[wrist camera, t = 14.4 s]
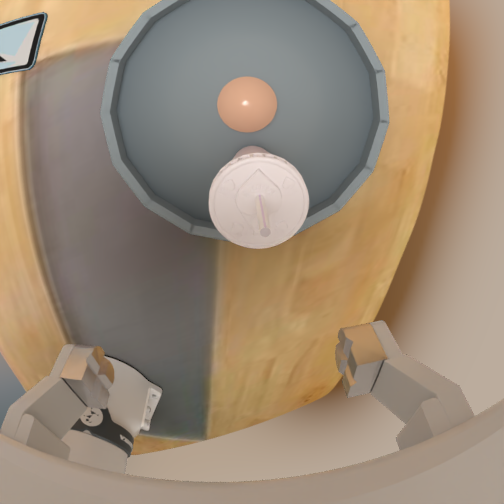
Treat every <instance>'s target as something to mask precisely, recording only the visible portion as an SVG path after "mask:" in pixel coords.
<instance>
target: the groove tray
mask: <svg viewBox="0 0 504 504" xmlns="http://www.w3.org/2000/svg"><path fill="white" fill-rule="evenodd" d="M100 115H101V119H102V124H103V128H104V132H105V137H106V141H107V145H108V149H109V152H110V156H111V160H112V164H113V166H114V167H115V168H116V170H117V171H118V173H119V174H120V175H121V177H122V178H123V179H124V181H125V182H126V183H127V185H128V186H129V187H130V188H131V190H132V191H133V192H134V194H135V195H136V196H137V198H138V199H139V200H140V202H141V203H142V204H143V205H144V207H146V208H147V209H149V210H151V211H152V212H154V213H156V214H157V215H159V216H161V217H162V218H164V219H166V220H167V221H169V222H171V223H172V224H174V225H176V226H177V227H179V228H181V229H182V230H184V231H186V232H187V233H189V234H193V235H198V236H203V237H209V238H214V239H219V240H224V241H229V240H228V239H226V238H225V237H224V236H223V235H222V234H221V233H220V232H219V231H218V230H217V228H216V227H215V225H214V223H213V222H212V219H211V216H210V213H209V191H210V188H211V185H212V182H213V179H214V178H215V177H216V175H217V174H218V172H219V171H220V169H221V168H223V167H224V166H225V165H226V164H227V163H229V162H230V161H231V160H232V159H233V158H234V156H235V155H236V153H237V152H238V151H239V150H241V149H242V148H244V147H247V146H258V147H261V148H263V149H265V150H266V151H267V152H269V153H270V154H273V155H276V156H278V157H281V158H283V159H285V160H286V161H288V162H289V163H290V164H292V165H293V166H294V167H295V168H296V169H297V170H298V172H299V173H300V174H301V176H302V178H303V180H304V182H305V185H306V187H307V190H308V195H309V209H308V213H307V216H306V219H305V221H304V223H303V224H302V226H301V227H300V229H299V230H298V231H297V232H296V233H295V234H294V235H296V234H298V233H300V232H302V231H303V230H305V229H307V228H309V227H311V226H313V225H314V224H316V223H318V222H320V221H322V220H323V219H325V218H327V217H329V216H331V215H333V214H334V213H336V212H338V211H340V210H341V209H342V207H343V206H344V205H345V204H346V203H347V202H348V200H349V199H350V198H351V197H352V196H353V195H354V193H355V192H356V191H357V190H358V189H359V188H360V186H361V185H362V184H363V183H364V182H365V181H366V179H367V178H368V177H369V176H370V175H371V173H372V172H373V171H374V168H375V165H376V162H377V159H378V156H379V153H380V150H381V147H382V144H383V141H384V138H385V135H386V132H387V128H388V125H389V110H388V97H387V87H386V78H385V70H384V68H383V66H382V64H381V62H380V60H379V58H378V57H377V55H376V53H375V51H374V49H373V47H372V46H371V44H370V42H369V40H368V38H367V37H366V35H365V33H364V32H363V30H362V28H361V27H360V25H359V23H358V22H357V21H355V20H354V19H353V18H352V17H351V16H349V15H348V14H347V13H346V12H344V11H343V10H342V9H341V8H339V7H338V6H337V5H336V4H334V3H333V2H332V1H330V0H162V1H160V2H158V3H157V4H155V5H154V6H152V7H151V8H149V9H148V10H146V11H145V12H143V14H142V15H141V16H140V17H139V19H138V20H137V21H136V23H135V24H134V25H133V27H132V28H131V30H130V31H129V32H128V34H127V35H126V37H125V38H124V39H123V41H122V42H121V44H120V45H119V47H118V48H117V50H116V51H115V53H114V54H113V56H112V58H111V59H110V63H109V68H108V72H107V77H106V82H105V87H104V93H103V98H102V105H101V111H100ZM294 235H293V236H294ZM230 242H231V241H230Z"/></svg>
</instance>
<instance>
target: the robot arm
mask: <svg viewBox="0 0 504 504" xmlns="http://www.w3.org/2000/svg"><path fill="white" fill-rule="evenodd" d="M338 338H339V341H340V342H339V343H338V344H337V345H336V351H335V356H336V364H337V368H338V371H339V372H340V373H342V374H343V375H344V376H343V380H342V383H343V386H344V389H345V393H346V396H347V398H348V397H352V396H358V395H362V394H366V393H371V395H372V396H374V397H375V398H376V399H377V400H378V401H379V402H381V403H382V404H383V405H384V406H385V407H386V408H388V409H389V410H390V411H391V412H392V413H393V414H395V415H396V416H397V417H398V418H399V419H400V420H402V421H403V422H404V423H405V424H406V425H405V426H404V428H403V429H402V430H401V431H400V433H399V434H398V435H397V437H396V440H397V443H398V446H399V449H400V451H397V452H394V453H391V454H388V455H385V456H382V457H379V458H376V459H373V460H369V461H366V462H362V463H358V464H355V465H351V466H347V467H343V468H338V469H334V470H329V471H325V472H319V473H314V474H309V475H302V476H296V477H289V478H280V479H271V480H260V481H244V482H191V481H190V482H189V481H175V480H164V479H155V478H147V477H140V476H133V475H128V474H125V471H126V464H127V458H128V457H130V455H131V452H132V449H133V443H134V438H135V437H136V436H137V435H138V434H139V431H140V429H141V428H142V429H143V430H147V431H149V427H150V422H151V421H150V420H151V418H152V415H153V413H154V411H155V408H156V406H157V404H158V402H159V399H160V397H161V394H162V389H161V388H160V387H158V386H156V385H154V384H152V383H151V382H149V381H148V380H147V379H146V378H144V377H143V376H142V375H141V374H140V373H139V372H138V371H136V370H135V369H133V368H132V367H130V366H128V365H127V364H125V363H123V362H120V361H118V360H115V359H113V358H109V357H106V356H104V354H105V352H104V351H103V349H102V348H101V347H100V346H89V345H74V344H66V345H64V346H63V348H62V350H61V352H60V354H59V356H58V358H57V360H56V362H55V364H54V366H53V369H52V371H51V373H50V375H49V376H46V377H44V378H43V379H42V380H41V381H40V382H38V383H37V384H36V385H35V386H34V387H32V388H31V389H30V390H29V391H28V392H26V394H24V395H23V396H22V397H21V398H20V399H18V400H17V401H16V402H15V403H14V404H12V405H11V406H10V407H9V409H8V412H7V414H6V417H5V419H4V422H3V425H2V427H1V430H0V504H504V399H502V400H501V401H499V402H498V403H496V404H495V405H493V406H491V407H490V408H488V409H486V410H485V411H483V412H481V413H480V414H478V415H476V416H474V414H473V412H472V409H471V407H470V406H469V404H468V402H467V400H466V398H465V396H464V394H463V392H462V390H461V388H460V387H459V385H457V384H455V383H454V382H452V381H450V380H449V379H447V378H445V377H444V376H442V375H440V374H439V373H437V372H435V371H434V370H432V369H430V368H429V367H427V366H425V365H424V364H422V363H420V362H419V361H417V360H415V359H414V358H412V357H410V356H409V355H407V354H406V355H403V354H402V352H401V350H400V348H399V347H398V345H397V343H396V341H395V339H394V338H393V336H392V334H391V332H390V330H389V329H388V327H387V325H386V323H385V322H384V321H383V320H382V321H376V322H372V323H366V324H361V325H356V326H351V327H345V328H340V330H339V333H338Z"/></svg>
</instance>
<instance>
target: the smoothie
mask: <svg viewBox="0 0 504 504" xmlns="http://www.w3.org/2000/svg"><path fill="white" fill-rule="evenodd" d="M308 209H309V195H308V190H307V187H306V185H305V182H304V180H303V178H302V176H301V174H300V173H299V172H298V170H297V169H296V168H295V167H294V166H293V165H292V164H290V163H289V162H288V161H286V160H285V159H283V158H281V157H278V156H276V155H273V154H270V153H269V152H267V151H266V150H265V149H263V148H261V147H258V146H247V147H244V148H242V149H241V150H239V151H238V152H237V153H236V155H235V156H234V158H233V159H232V160H231V161H230V162H229V163H227V164H226V165H225V166H224V167H223V168H221V169H220V171H219V172H218V174H217V175H216V177H215V178H214V179H213V182H212V185H211V188H210V191H209V213H210V216H211V219H212V222H213V223H214V225H215V227H216V228H217V230H218V231H219V232H220V233H221V234H222V235H223V236H224V237H225V238H226V239H228V240H229V241H231V242H233V243H235V244H237V245H239V246H242V247H246V248H254V249H262V248H269V247H273V246H276V245H279V244H281V243H283V242H285V241H286V240H288V239H289V238H291V237H292V236H293V235H294V234H295V233H296V232H297V231H298V230H299V229H300V227H301V226H302V224H303V223H304V221H305V219H306V216H307V213H308Z"/></svg>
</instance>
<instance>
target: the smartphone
mask: <svg viewBox="0 0 504 504" xmlns="http://www.w3.org/2000/svg"><path fill="white" fill-rule="evenodd" d="M46 21H47V14H46V13H44V12H42V13H37V14H33V15H30V16H26V17H22V18H19V19H16V20H12V21H9V22H6V23H3V24H0V75H1V74H7V73H12V72H18V71H24V70H30V69H31V68H33V66H34V65H35V63H36V60H37V54H38V50H39V47H40V43H41V42H40V41H41V37H42V35H43V30H44V28H45V23H46Z"/></svg>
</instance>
